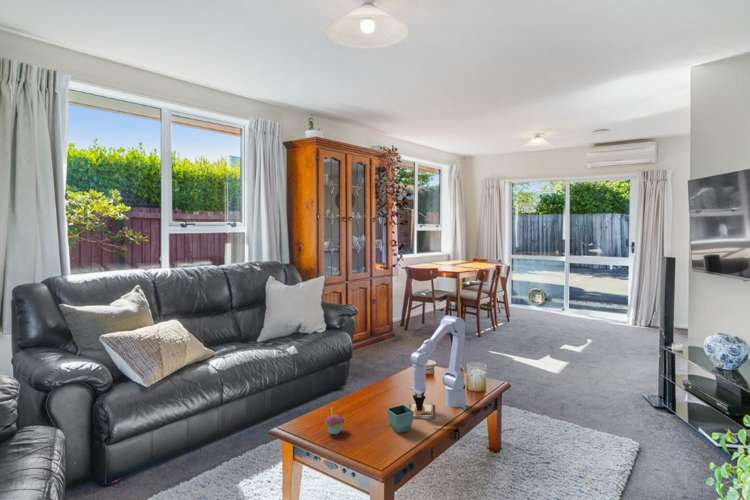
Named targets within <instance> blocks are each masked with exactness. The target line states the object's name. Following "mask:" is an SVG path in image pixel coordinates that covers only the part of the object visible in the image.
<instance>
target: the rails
mask: <svg viewBox="0 0 750 500" xmlns="http://www.w3.org/2000/svg"><path fill="white" fill-rule="evenodd" d="M410 404H411V403H410V401H409V400H407V406H406V407H408V408H409V405H410ZM430 404H431V411H430V413H431V414H430V415H429V414H422V415H417V414H413V420H414V419H415V420H416V419H417V420H419V419H420V420H422V419H423V420H434V410H433V409H434V407H433V405H434V403H433V401H431V402H430Z"/></svg>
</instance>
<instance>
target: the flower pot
mask: <svg viewBox="0 0 750 500" xmlns="http://www.w3.org/2000/svg"><path fill="white" fill-rule="evenodd" d="M414 413H415V411H412V410H411V409H409V408H408V407H407V406H406V405H405V404H400V405H397V406H392V407H388V408H386V414H387V420H388V423H389V426H390V427H391V429H392V430H393V431H395V432H396V433H397V434H402V433H404V432H405V433H406V432H409V430H411V427H412V425H413V422H414V418H413V415H414Z"/></svg>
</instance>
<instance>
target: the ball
mask: <svg viewBox="0 0 750 500" xmlns="http://www.w3.org/2000/svg"><path fill="white" fill-rule="evenodd" d="M425 412H426V411H425V407H424V406H423V408H422V411H417V408H416V405H415V407H414V413H415V415H424V413H425Z"/></svg>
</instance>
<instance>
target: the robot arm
mask: <svg viewBox="0 0 750 500" xmlns="http://www.w3.org/2000/svg"><path fill="white" fill-rule="evenodd" d="M465 328H466V321H465V320H464V319H463V318H462V317H457V316H452V315H449V314H446V315H444V316H443V317H442V319H441V320H440V325H439V326H438V328H437V329H436V330H435V332H433V334H432V336H431V337H430V338H427V339H426V340H424V341H423V343H422V344H421V345H420V347H419V348H418V349H417V350H416V351H413V353H412V354H410V357H409V361H410V362H411V365H412V385H413V386H411V387H410V390H412V391H414V394H412V398H413V400H414V404H416V408H417V411H422V408H423V404H424V402H425V400H426V397H427V395H425V392H426V391H427V387H426V384H427V383H426V382H427V381H426V378H427V377H426V365H427V364H428V362H429V358H430V356H431V354H433V352H434V351H435V349H436V348H437V343H438V342H439V341H440V340H441V339H442V338H443V337H444V336H445V335H446V334H448V333H451V335H453V336H452V343H451V350H450V357H449V364H448V368H446V369H444V370H445V371H444V374H443V376H442V381H441V382H442V384H443V385H444V388H445V405H446V406H447V407H450V408H462V410H463V411H466V405H467V400H466V389H465V388H464V386H465V380H464V378H465V377H464V376H465V375H464V373H463V372H462V370H461V367H462V361H463V360H462V359H463V351H464V346H465V345H464V344H465V337H466V329H465Z"/></svg>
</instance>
